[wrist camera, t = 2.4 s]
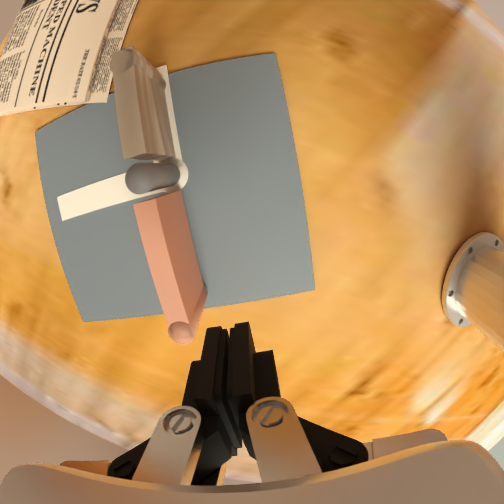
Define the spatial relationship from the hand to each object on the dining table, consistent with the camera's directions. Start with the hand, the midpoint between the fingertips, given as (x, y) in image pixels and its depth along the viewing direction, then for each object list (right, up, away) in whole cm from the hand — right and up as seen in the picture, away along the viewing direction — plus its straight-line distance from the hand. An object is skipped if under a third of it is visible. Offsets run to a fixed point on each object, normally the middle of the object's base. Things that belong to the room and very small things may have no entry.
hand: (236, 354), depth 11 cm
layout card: (-8, +9, +13) cm, 18 cm away
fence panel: (-6, +6, +14) cm, 16 cm away
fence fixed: (-7, +16, +11) cm, 21 cm away
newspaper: (-20, +37, +5) cm, 42 cm away
